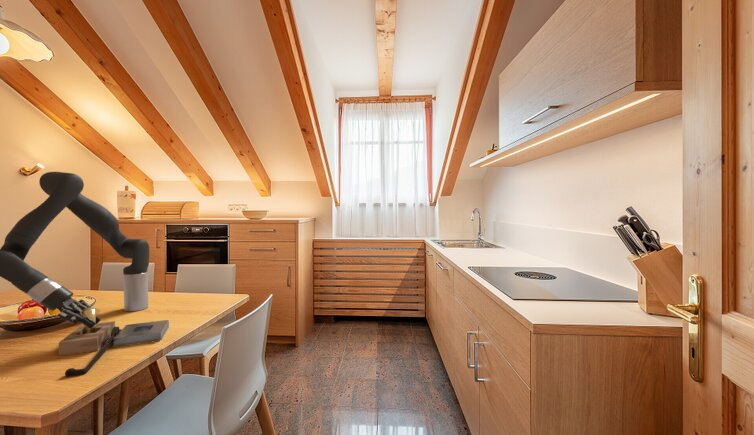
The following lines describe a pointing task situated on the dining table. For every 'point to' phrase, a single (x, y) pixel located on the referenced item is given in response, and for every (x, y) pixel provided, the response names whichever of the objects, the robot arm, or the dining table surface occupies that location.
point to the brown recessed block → (86, 339)
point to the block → (141, 333)
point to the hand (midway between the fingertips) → (96, 323)
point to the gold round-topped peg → (91, 314)
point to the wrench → (83, 371)
